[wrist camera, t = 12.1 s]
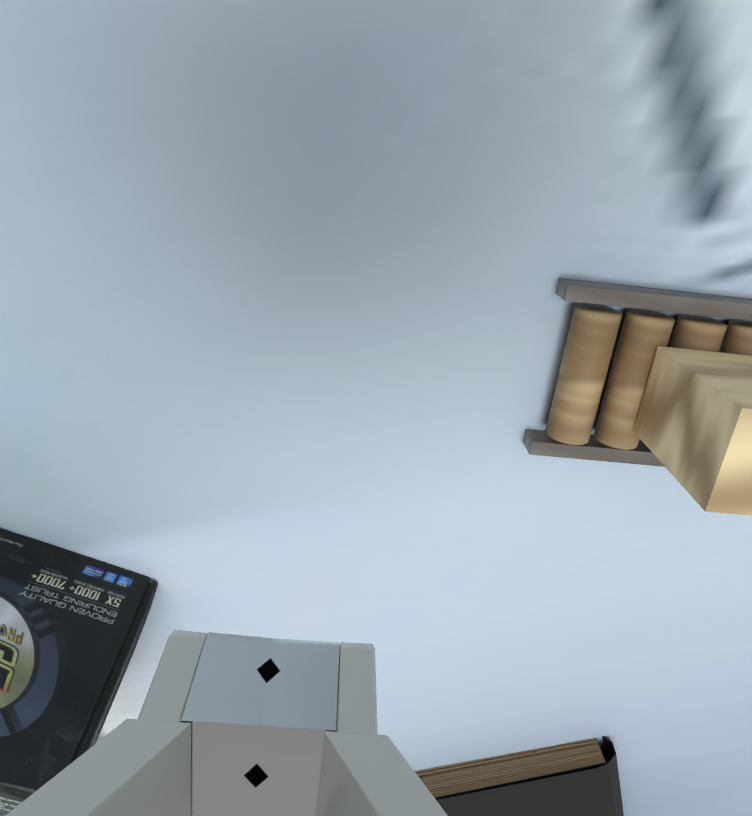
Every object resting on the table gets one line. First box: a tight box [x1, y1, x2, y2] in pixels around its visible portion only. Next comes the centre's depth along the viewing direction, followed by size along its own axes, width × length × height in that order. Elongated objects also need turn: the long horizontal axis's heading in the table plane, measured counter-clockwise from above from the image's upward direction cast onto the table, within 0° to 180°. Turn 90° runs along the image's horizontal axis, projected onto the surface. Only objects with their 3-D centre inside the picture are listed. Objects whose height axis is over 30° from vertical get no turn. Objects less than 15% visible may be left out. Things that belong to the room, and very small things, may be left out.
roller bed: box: [523, 278, 752, 467], centre depth 45 cm, size 12×19×3 cm, turn 84°
